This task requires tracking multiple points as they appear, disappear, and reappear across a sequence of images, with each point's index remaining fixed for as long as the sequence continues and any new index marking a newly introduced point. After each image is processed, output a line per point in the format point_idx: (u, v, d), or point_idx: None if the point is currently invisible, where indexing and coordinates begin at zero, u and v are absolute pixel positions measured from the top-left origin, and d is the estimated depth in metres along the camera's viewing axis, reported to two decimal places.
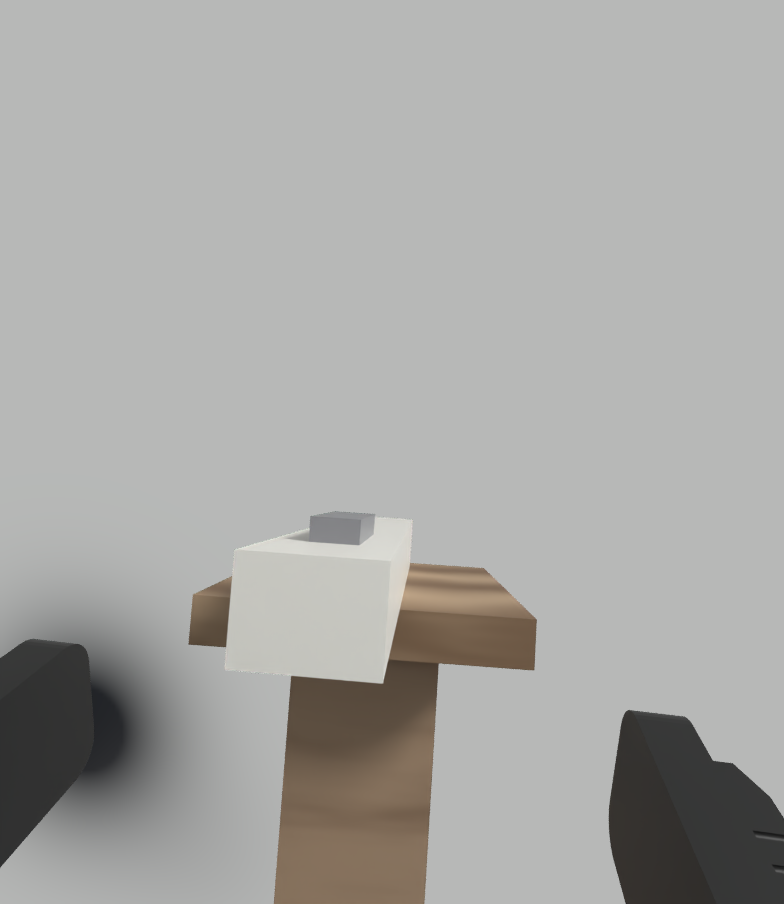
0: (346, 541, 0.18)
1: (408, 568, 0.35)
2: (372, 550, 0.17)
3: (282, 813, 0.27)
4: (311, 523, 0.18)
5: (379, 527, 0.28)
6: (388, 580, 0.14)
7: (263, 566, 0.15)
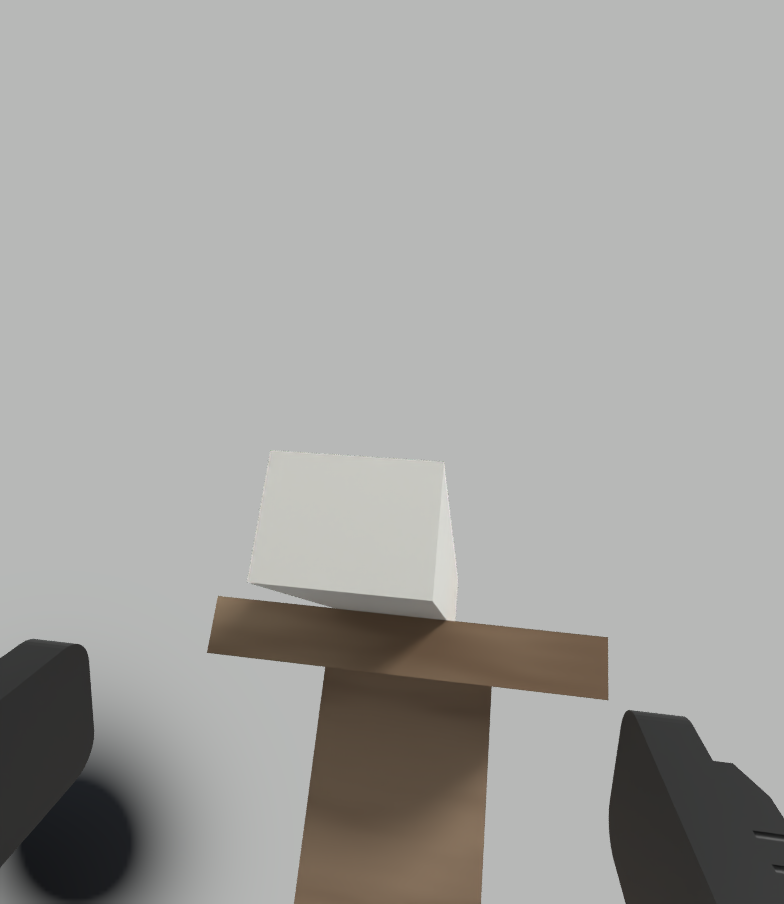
0: None
1: None
2: None
3: (296, 902, 0.22)
4: None
5: None
6: (440, 482, 0.13)
7: (300, 467, 0.13)
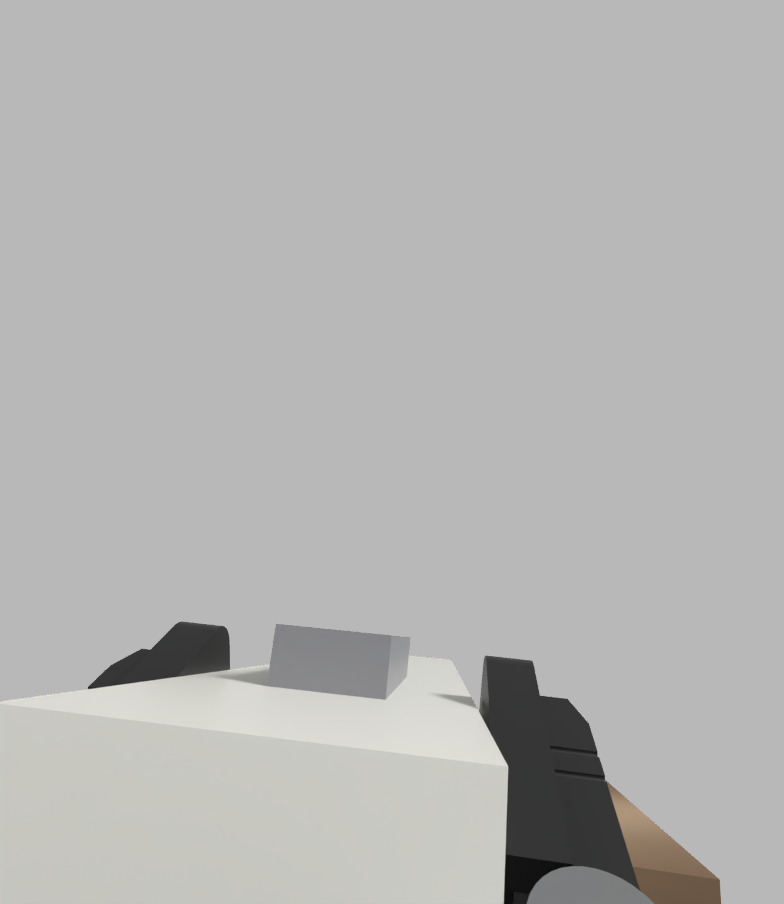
0: (355, 688, 0.08)
1: None
2: (423, 716, 0.06)
3: None
4: (276, 641, 0.08)
5: (410, 666, 0.17)
6: (501, 843, 0.04)
7: (71, 766, 0.04)
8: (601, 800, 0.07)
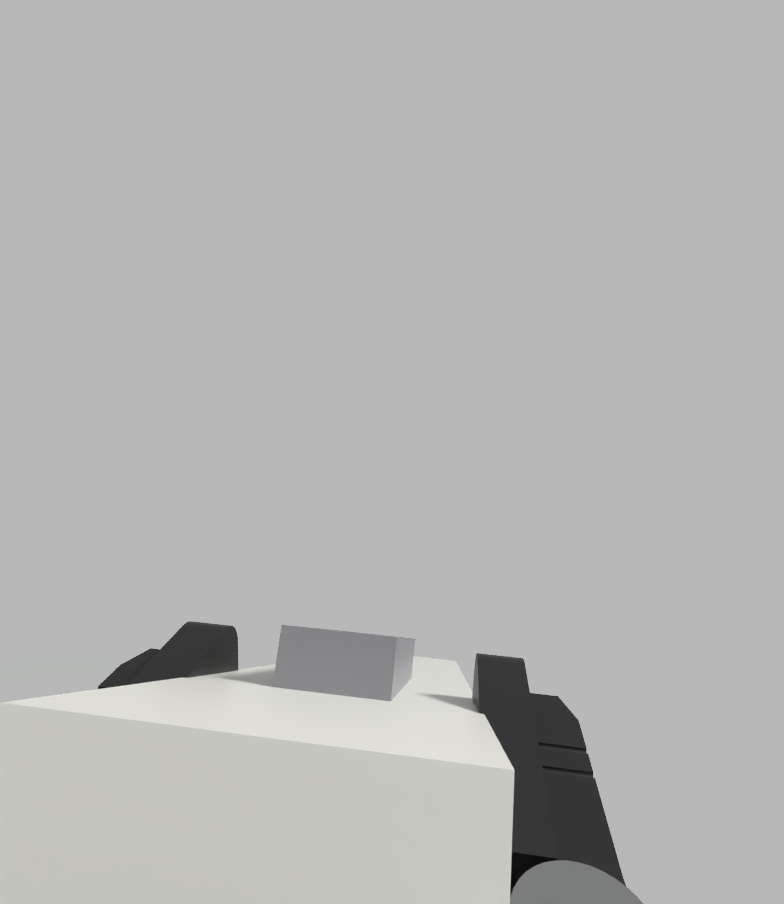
0: (360, 690, 0.08)
1: None
2: (428, 718, 0.06)
3: None
4: (282, 642, 0.08)
5: (415, 667, 0.17)
6: (507, 847, 0.04)
7: (80, 765, 0.04)
8: (588, 796, 0.07)
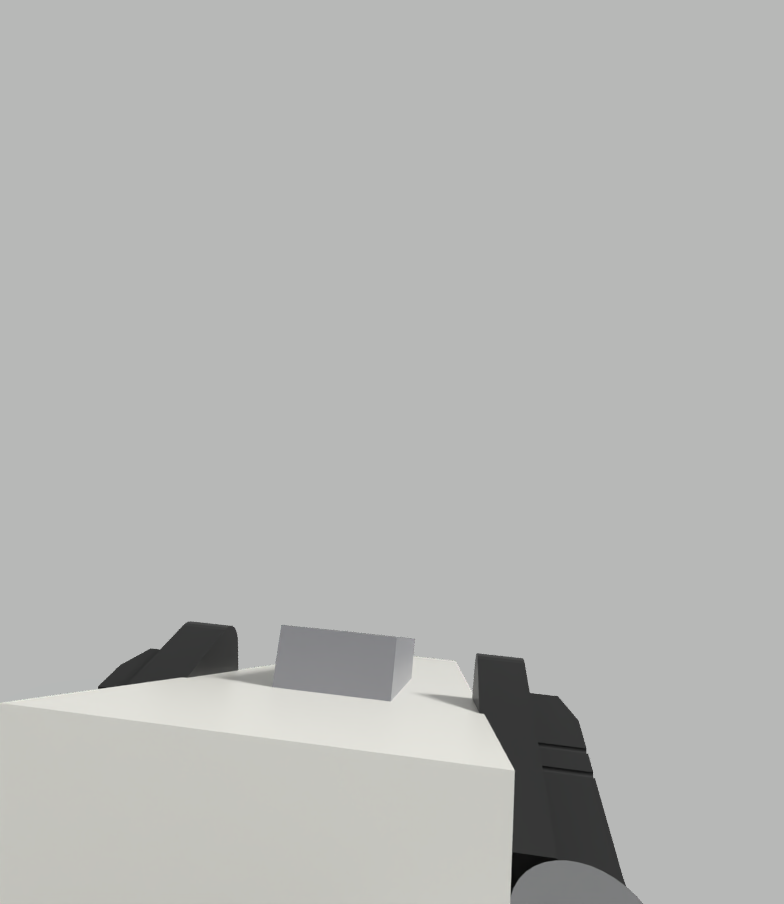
0: (360, 690, 0.08)
1: None
2: (428, 718, 0.06)
3: None
4: (282, 642, 0.08)
5: (415, 667, 0.17)
6: (507, 848, 0.04)
7: (79, 765, 0.04)
8: (589, 796, 0.07)
